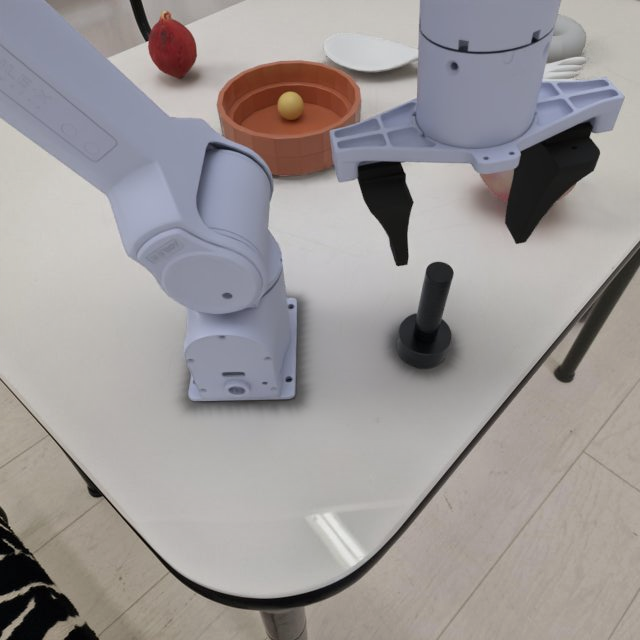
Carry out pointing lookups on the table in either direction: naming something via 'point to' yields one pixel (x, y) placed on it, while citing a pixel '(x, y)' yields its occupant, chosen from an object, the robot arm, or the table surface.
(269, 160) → the bowl
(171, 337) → the table surface
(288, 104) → the ball
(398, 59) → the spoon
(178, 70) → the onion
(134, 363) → the table surface
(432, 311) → the black joystick
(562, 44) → the donut
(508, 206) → the robot arm
